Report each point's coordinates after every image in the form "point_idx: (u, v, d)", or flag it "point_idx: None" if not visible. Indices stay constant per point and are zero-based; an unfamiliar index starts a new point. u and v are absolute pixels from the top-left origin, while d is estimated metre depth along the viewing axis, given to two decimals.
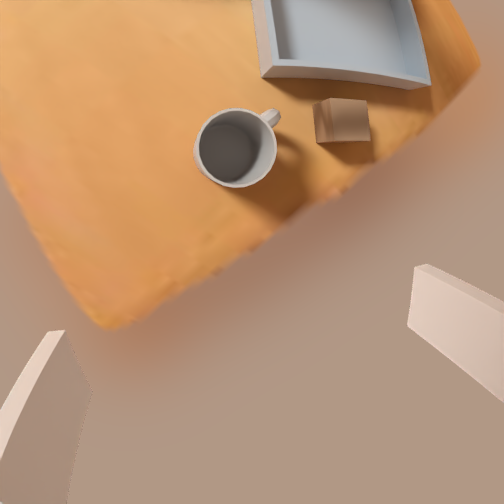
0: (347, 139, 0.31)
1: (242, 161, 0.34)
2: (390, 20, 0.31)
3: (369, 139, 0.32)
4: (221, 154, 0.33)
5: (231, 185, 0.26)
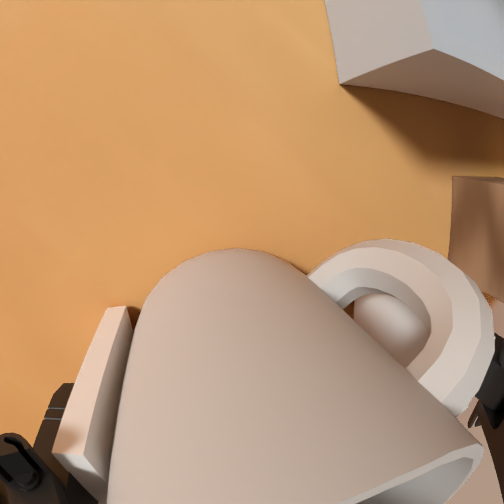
0: None
1: None
2: None
3: None
4: None
5: None
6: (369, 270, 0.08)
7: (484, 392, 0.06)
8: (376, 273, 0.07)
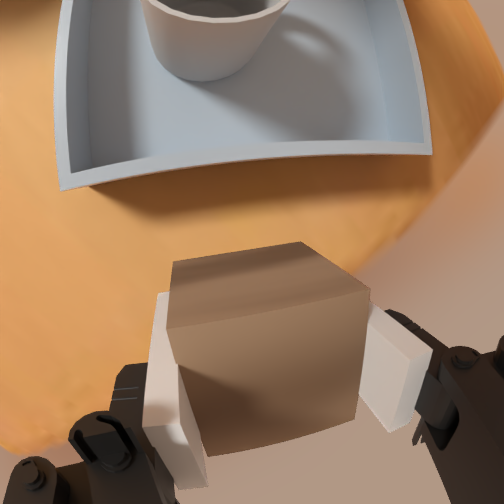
0: (260, 445, 0.08)
1: None
2: (359, 21, 0.18)
3: (350, 418, 0.09)
4: None
5: (206, 19, 0.09)
6: None
7: (425, 411, 0.06)
8: None
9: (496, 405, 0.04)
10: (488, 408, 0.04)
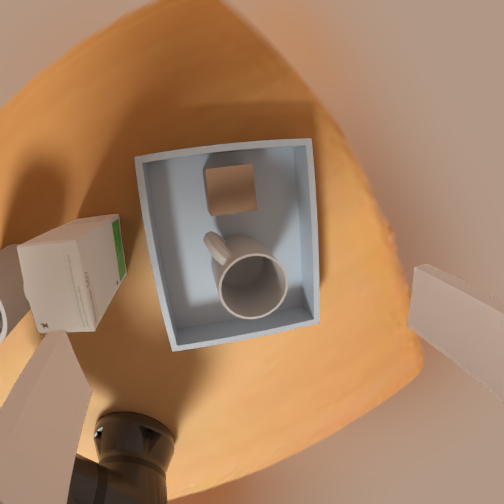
0: (226, 212, 0.32)
1: None
2: (205, 163, 0.34)
3: (255, 208, 0.32)
4: (240, 264, 0.39)
5: (286, 288, 0.31)
6: None
7: None
8: None
9: None
10: None
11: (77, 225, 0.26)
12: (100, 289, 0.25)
